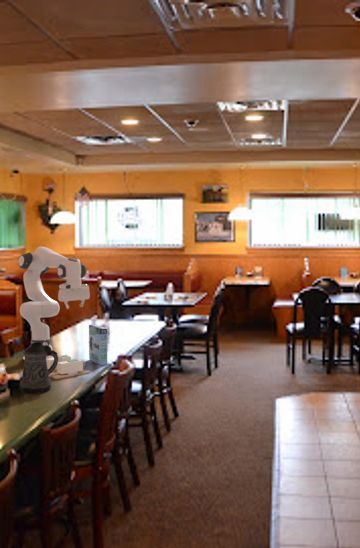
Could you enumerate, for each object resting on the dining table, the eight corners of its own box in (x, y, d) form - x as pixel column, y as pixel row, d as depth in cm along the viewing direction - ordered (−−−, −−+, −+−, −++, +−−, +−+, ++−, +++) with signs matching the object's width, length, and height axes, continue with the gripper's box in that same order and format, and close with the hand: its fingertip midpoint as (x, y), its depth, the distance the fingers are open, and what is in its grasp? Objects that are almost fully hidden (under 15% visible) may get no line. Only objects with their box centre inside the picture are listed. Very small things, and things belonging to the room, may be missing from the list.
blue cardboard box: (89, 359, 409) (88, 324, 407) (96, 359, 411) (95, 324, 410) (100, 365, 392) (99, 329, 390) (108, 364, 394) (107, 328, 393)
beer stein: (13, 390, 335) (12, 343, 333) (45, 383, 349) (44, 338, 347) (30, 395, 323) (29, 347, 321) (62, 388, 337) (61, 342, 335)
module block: (58, 369, 373) (58, 355, 372) (66, 368, 376) (65, 354, 376) (62, 371, 369) (62, 357, 369) (70, 369, 372) (69, 355, 372)
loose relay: (76, 368, 387) (75, 363, 387) (80, 365, 393) (80, 361, 392) (82, 368, 386) (82, 363, 385) (86, 366, 391) (85, 361, 391)
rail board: (39, 373, 374) (39, 359, 373) (72, 367, 387) (72, 353, 387) (55, 379, 358) (55, 364, 358) (89, 372, 372) (89, 358, 371)
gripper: (86, 283, 391) (86, 305, 392) (56, 285, 378) (57, 308, 379) (91, 284, 386) (92, 306, 387) (61, 286, 373) (62, 309, 374)
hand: (74, 307), depth 383 cm, fingers open, 8 cm apart
